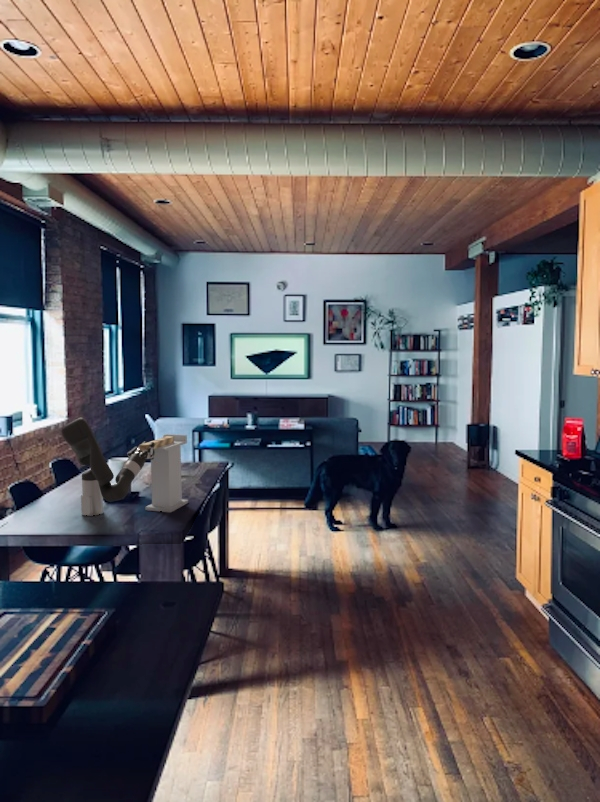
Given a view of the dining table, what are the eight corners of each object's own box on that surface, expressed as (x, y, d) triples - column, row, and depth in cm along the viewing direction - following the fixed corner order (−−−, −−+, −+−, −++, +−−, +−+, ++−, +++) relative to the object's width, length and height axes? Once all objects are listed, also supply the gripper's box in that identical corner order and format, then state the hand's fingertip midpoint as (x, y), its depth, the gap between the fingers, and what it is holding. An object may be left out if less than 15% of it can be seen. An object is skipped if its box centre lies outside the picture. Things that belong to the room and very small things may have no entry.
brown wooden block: (146, 451, 283) (146, 445, 282) (139, 451, 284) (139, 444, 283) (173, 442, 307) (173, 436, 307) (167, 442, 308) (167, 436, 308)
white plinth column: (168, 513, 294) (166, 442, 290) (143, 511, 298) (141, 440, 294) (190, 501, 315) (188, 435, 311) (166, 499, 319) (164, 433, 315)
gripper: (143, 461, 271) (160, 437, 284) (116, 460, 275) (134, 436, 288) (148, 474, 275) (164, 449, 288) (121, 472, 279) (138, 448, 293)
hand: (149, 443), depth 288 cm, fingers closed on brown wooden block, 3 cm apart
